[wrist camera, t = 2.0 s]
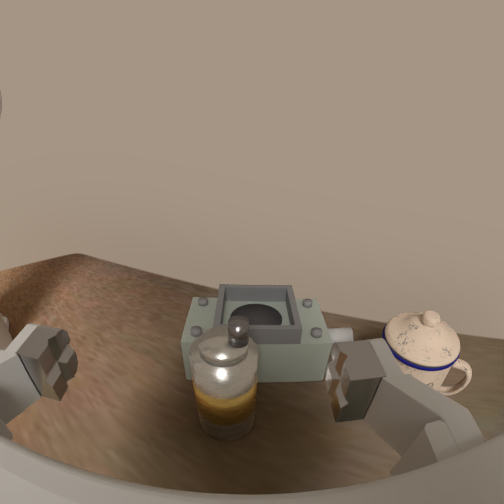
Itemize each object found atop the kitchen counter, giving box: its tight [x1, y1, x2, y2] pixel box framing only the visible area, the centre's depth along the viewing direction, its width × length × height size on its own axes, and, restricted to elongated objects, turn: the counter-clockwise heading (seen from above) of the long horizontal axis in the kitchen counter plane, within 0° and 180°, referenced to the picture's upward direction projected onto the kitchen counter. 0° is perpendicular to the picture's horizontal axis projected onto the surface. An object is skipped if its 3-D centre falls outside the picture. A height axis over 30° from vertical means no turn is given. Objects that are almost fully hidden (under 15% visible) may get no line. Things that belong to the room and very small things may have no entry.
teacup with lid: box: [383, 310, 472, 395], centre depth 26 cm, size 12×9×12 cm
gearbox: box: [180, 284, 353, 382], centre depth 35 cm, size 20×9×8 cm, turn 91°
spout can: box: [189, 315, 258, 441], centre depth 25 cm, size 6×6×13 cm
